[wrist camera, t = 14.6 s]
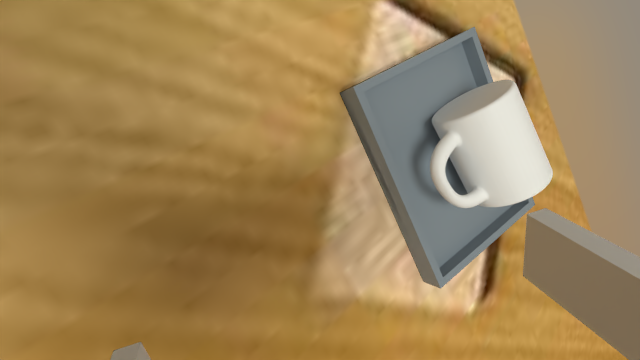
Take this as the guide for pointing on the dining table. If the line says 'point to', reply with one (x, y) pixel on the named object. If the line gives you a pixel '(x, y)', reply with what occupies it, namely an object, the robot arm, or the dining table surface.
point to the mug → (489, 148)
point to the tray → (427, 154)
